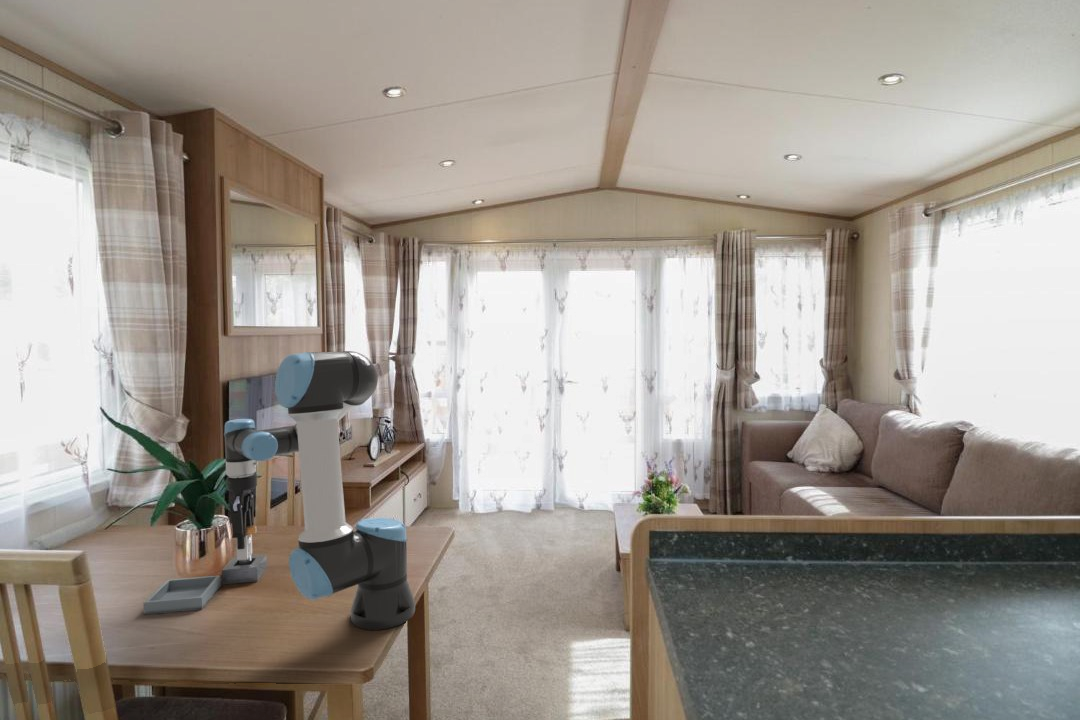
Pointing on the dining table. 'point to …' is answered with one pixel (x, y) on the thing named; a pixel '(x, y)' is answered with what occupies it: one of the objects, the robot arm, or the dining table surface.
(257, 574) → the block
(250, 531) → the t key
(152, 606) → the tray
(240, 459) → the robot arm
